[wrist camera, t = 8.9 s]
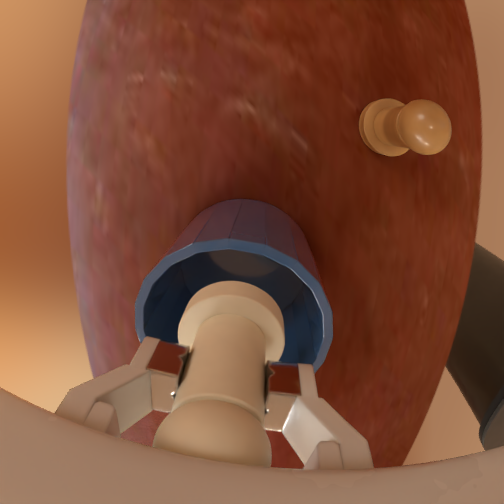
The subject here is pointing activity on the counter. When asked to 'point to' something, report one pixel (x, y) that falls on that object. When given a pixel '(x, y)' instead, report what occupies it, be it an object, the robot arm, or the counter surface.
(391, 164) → the counter surface
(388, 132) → the maple pawn
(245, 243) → the cup
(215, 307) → the ivory pawn
